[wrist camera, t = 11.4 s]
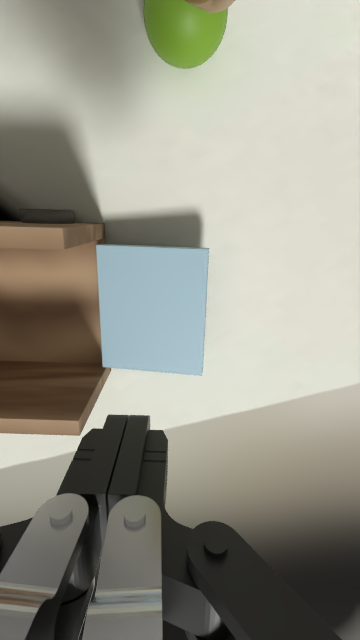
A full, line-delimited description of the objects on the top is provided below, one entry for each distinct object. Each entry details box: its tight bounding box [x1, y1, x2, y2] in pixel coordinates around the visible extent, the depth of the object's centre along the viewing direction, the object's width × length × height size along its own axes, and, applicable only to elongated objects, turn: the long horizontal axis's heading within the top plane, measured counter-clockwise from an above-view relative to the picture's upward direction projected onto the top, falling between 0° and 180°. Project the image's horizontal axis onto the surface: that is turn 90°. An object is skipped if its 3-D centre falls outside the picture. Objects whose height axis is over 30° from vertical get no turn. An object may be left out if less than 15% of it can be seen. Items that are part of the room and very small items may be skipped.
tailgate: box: [96, 244, 209, 376], centre depth 28 cm, size 11×2×9 cm
